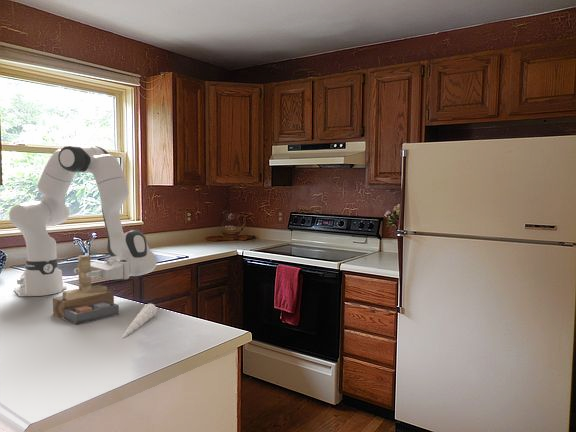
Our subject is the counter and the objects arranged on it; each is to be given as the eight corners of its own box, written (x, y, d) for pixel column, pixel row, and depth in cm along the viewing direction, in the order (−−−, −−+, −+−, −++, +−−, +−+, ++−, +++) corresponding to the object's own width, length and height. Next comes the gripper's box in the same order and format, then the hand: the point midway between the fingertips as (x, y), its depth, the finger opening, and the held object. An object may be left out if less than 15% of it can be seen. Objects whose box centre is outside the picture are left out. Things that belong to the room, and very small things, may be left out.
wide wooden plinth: (53, 314, 157) (52, 297, 157) (102, 304, 171) (101, 288, 171) (64, 319, 152) (63, 302, 151) (114, 308, 165) (113, 292, 165)
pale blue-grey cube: (99, 306, 153) (99, 315, 153) (110, 304, 156) (110, 312, 156) (93, 304, 156) (93, 312, 156) (104, 302, 159) (104, 310, 159)
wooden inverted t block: (63, 298, 156) (61, 257, 155) (101, 291, 167) (100, 253, 166) (68, 300, 154) (66, 258, 153) (106, 292, 164) (105, 254, 163)
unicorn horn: (110, 339, 133) (110, 323, 133) (144, 316, 157) (144, 302, 157) (125, 339, 133) (125, 323, 133) (157, 316, 157) (157, 303, 156)
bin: (64, 319, 152) (64, 309, 151) (106, 310, 163) (106, 300, 163) (76, 324, 146) (76, 314, 146) (119, 314, 157) (118, 304, 157)
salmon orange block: (80, 310, 148) (80, 319, 149) (92, 307, 151) (92, 316, 152) (75, 308, 151) (75, 316, 151) (86, 305, 154) (87, 314, 154)
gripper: (103, 256, 177) (67, 261, 166) (130, 262, 164) (94, 267, 153) (103, 272, 177) (68, 277, 167) (131, 279, 164) (94, 285, 153)
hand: (80, 273), depth 160 cm, fingers open, 8 cm apart
